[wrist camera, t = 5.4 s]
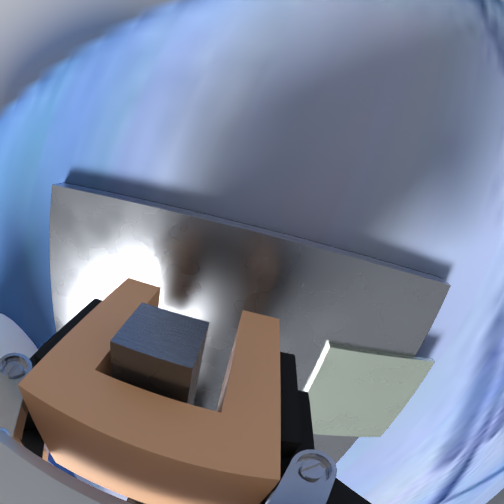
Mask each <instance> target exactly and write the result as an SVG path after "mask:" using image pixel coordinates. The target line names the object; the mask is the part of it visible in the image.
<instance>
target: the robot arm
mask: <svg viewBox="0 0 504 504" xmlns="http://www.w3.org/2000/svg"><path fill="white" fill-rule="evenodd" d="M101 301H103V300H100V299H97V298H95V299H93V300H92V301H91V302H90V303H89V304H88V305H87V306H85V307H84V308H83V309H82V310H81V311H80V312H79V313H78V314H76V315H75V316H74V317H73V318H72V319H71V320H70V321H69V322H68V323H67V324H65V325H64V326H63V327H62V328H61V329H60V330H59V331H58V332H57V333H56V334H55V335H53V336H52V337H51V338H50V339H49V340H48V341H47V342H46V343H45V344H44V345H43V346H42V347H41V348H40V349H39V350H38V351H37V352H36V353H35V354H34V355H33V356H32V357H31V358H30V359H29V358H28V357H27V356H25V355H23V354H21V353H9V354H7V355H4V356H3V357H2V358H0V504H132V503H130V502H127V501H124V500H122V499H119V498H117V497H115V496H112V495H110V494H108V493H105V492H103V491H101V490H99V489H96V488H94V487H92V486H90V485H88V484H86V483H84V482H82V481H80V480H78V479H76V478H74V477H73V476H71V475H69V474H67V473H65V472H63V471H62V470H60V469H58V468H57V467H55V466H53V465H51V464H50V463H48V462H47V461H48V452H49V450H48V448H47V446H46V444H45V443H44V441H43V439H42V437H41V435H40V433H39V431H38V429H37V427H36V425H35V423H34V421H33V419H32V417H31V415H30V413H29V411H28V408H27V406H26V404H25V401H24V399H23V397H22V394H21V392H20V389H19V387H18V384H19V383H20V381H21V380H22V379H23V378H24V377H25V376H26V375H27V374H28V373H29V372H30V371H31V370H32V369H33V368H34V367H35V366H36V365H37V364H38V362H39V361H40V360H41V359H42V358H43V357H44V356H45V355H46V354H47V353H48V352H49V351H50V350H51V349H52V348H53V347H54V346H55V345H56V344H57V343H58V342H59V341H60V340H61V339H62V338H63V337H64V336H65V335H66V334H68V333H69V332H70V331H71V330H72V329H73V328H74V327H75V326H76V325H77V324H78V323H79V322H80V321H81V320H82V319H83V318H84V317H85V316H86V315H87V314H89V313H90V312H91V311H92V310H93V309H94V308H95V307H96V306H97V305H98V304H99V303H100V302H101ZM280 381H281V463H280V481H279V482H278V483H277V484H276V486H275V487H274V488H273V489H272V490H271V491H270V493H269V494H268V495H267V496H266V497H265V498H264V499H263V500H262V502H261V503H260V504H371V503H370V502H368V501H367V500H365V499H364V498H363V497H361V496H360V495H358V494H357V493H356V492H354V491H353V490H351V489H350V488H349V487H347V486H346V485H345V484H343V483H342V482H341V481H339V480H338V479H337V478H336V474H337V468H336V464H335V462H334V461H333V459H332V458H331V457H330V456H328V455H327V454H325V453H323V452H322V451H318V450H315V448H314V438H313V428H312V418H311V409H310V400H309V394H308V392H306V391H300V390H298V384H297V371H296V359H295V355H294V354H289V353H284V352H280Z"/></svg>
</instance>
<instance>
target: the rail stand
mask: <svg viewBox="0 0 504 504" xmlns="http://www.w3.org/2000/svg"><path fill="white" fill-rule="evenodd" d="M50 275H51V290H52V301H53V311H54V319H55V326H56V333H57V332H58V331H59V330H60V329H61V328H62V327H63V326H64V325H65V324H67V323H68V322H69V321H70V320H71V319H72V318H73V317H74V316H75V315H76V314H78V313H79V312H80V311H81V310H82V309H83V308H84V307H85V306H87V305H88V304H89V303H90V302H91V301H92V300H93V299H95V298H97V299H100V300H104V299H105V298H106V297H107V296H108V295H109V294H110V293H111V292H113V291H114V290H115V289H116V288H117V287H118V286H119V285H120V284H122V283H123V282H124V281H125V280H126V279H127V278H131V279H135V280H138V281H141V282H144V283H147V284H151V285H154V286H157V287H161V288H160V297H159V306H158V307H155V306H152V305H149V304H146V303H141V304H140V305H139V306H138V308H137V309H136V310H135V311H134V312H133V314H132V315H131V316H130V317H129V318H128V320H127V321H126V322H125V323H124V324H123V326H122V327H121V328H120V329H119V331H118V332H117V333H116V334H115V336H114V337H113V338H112V339H111V340H110V352H111V368H112V378H115V379H117V380H120V381H122V382H125V383H128V384H130V385H133V386H135V387H138V388H141V389H144V390H146V391H149V392H152V393H155V394H158V395H161V396H164V397H167V398H170V399H174V400H177V401H180V402H184V403H187V404H191V405H194V406H198V407H201V408H205V409H209V410H213V411H217V407H218V402H219V398H220V393H221V389H222V385H223V381H224V377H225V374H226V370H227V366H228V362H229V359H230V355H231V351H232V348H233V344H234V340H235V337H236V333H237V329H238V325H239V322H240V318H241V314H242V311H243V310H245V311H249V312H253V313H257V314H261V315H265V316H269V317H274V318H278V319H279V324H280V352H284V353H289V354H294V355H295V359H296V371H297V384H298V390H300V391H306V392H308V394H309V400H310V409H311V418H312V428H313V438H314V448H315V450H318V451H322V452H323V453H325V454H327V455H328V456H330V457H331V458H332V459H333V461H334V462H335V464H336V463H337V462H338V461H339V459H340V458H341V457H342V456H343V455H344V454H345V453H346V452H347V450H348V449H349V448H350V447H351V446H352V445H353V443H354V442H355V441H356V440H357V439H358V437H381V435H382V434H383V433H384V432H385V431H386V429H387V428H388V427H389V426H390V425H391V423H392V422H393V421H394V420H395V418H396V417H397V416H398V414H399V413H400V412H401V411H402V409H403V408H404V407H405V405H406V404H407V403H408V401H409V400H410V398H411V397H412V396H413V394H414V393H415V391H416V390H417V388H418V387H419V386H420V384H421V383H422V381H423V380H424V378H425V377H426V375H427V373H428V372H429V370H430V369H431V367H432V366H433V364H434V362H435V361H434V359H432V358H422V357H415V355H416V354H417V352H418V350H419V348H420V347H421V345H422V343H423V341H424V339H425V337H426V336H427V334H428V332H429V330H430V328H431V326H432V324H433V322H434V320H435V318H436V316H437V314H438V312H439V310H440V308H441V306H442V304H443V301H444V299H445V297H446V295H447V293H448V290H449V288H450V286H451V285H450V284H448V283H447V282H446V281H445V280H443V279H442V278H440V277H437V276H433V275H430V274H427V273H423V272H420V271H416V270H413V269H410V268H406V267H403V266H399V265H396V264H393V263H389V262H386V261H382V260H379V259H375V258H372V257H368V256H364V255H361V254H357V253H354V252H350V251H347V250H343V249H339V248H336V247H332V246H328V245H325V244H321V243H317V242H313V241H310V240H306V239H302V238H298V237H295V236H291V235H287V234H283V233H279V232H275V231H272V230H268V229H264V228H260V227H256V226H252V225H248V224H244V223H240V222H236V221H232V220H228V219H224V218H220V217H216V216H211V215H207V214H203V213H199V212H195V211H191V210H186V209H182V208H178V207H174V206H169V205H165V204H161V203H156V202H152V201H147V200H143V199H138V198H134V197H129V196H125V195H120V194H116V193H111V192H107V191H102V190H97V189H92V188H88V187H83V186H78V185H73V184H68V183H59V184H53V185H52V193H51V208H50ZM127 502H130V503H132V504H145V503H143V502H140V501H137V500H134V499H131V498H129V497H128V499H127Z"/></svg>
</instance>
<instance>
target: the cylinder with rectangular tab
mask: <svg viewBox="0 0 504 504" xmlns="http://www.w3.org/2000/svg"><path fill="white" fill-rule="evenodd" d="M37 351H38V349H37V347H36V346H35V345H34V343H33V342H32V340H31V339H30V338H29V337H28V336H27V335H26V333H25V332H24V331H23V330H22V329H21V328H20V327H19V326H18V325H17V324H16V323H15V322H14V321H13V320H11V319H10V318H8V317H7V316H5V315H4V314H1V313H0V358H2V357H3V356H4V355H7V354H9V353H21V354H23V355H25V356H27V357H28V358H29V359H30V358H31V357H32V356H33V355H34V354H35V353H36V352H37Z"/></svg>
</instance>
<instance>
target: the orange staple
mask: <svg viewBox="0 0 504 504" xmlns="http://www.w3.org/2000/svg"><path fill="white" fill-rule="evenodd" d="M160 288H161V287H157V286H154V285H151V284H147V283H144V282H141V281H138V280H135V279H131V278H127V279H126V280H125V281H124V282H123V283H122V284H120V285H119V286H118V287H117V288H116V289H115V290H114V291H113V292H111V293H110V294H109V295H108V296H107V297H106V298H105V299H104V300H103V301H101V302H100V303H99V304H98V305H97V306H96V307H95V308H94V309H93V310H92V311H91V312H90V313H89V314H87V315H86V316H85V317H84V318H83V319H82V320H81V321H80V322H79V323H78V324H77V325H76V326H75V327H74V328H73V329H72V330H71V331H70V332H69V333H68V334H66V335H65V336H64V337H63V338H62V339H61V340H60V341H59V342H58V343H57V344H56V345H55V346H54V347H53V348H52V349H51V350H50V351H49V352H48V353H47V354H46V355H45V356H44V357H43V358H42V359H41V360H40V361H39V362H38V364H37V365H36V366H35V367H34V368H33V369H32V370H31V371H30V372H29V373H28V374H27V375H26V376H25V377H24V378H23V379H22V380H21V381H20V383H19V384H18V387H19V389H20V392H21V394H22V397H23V399H24V401H25V404H26V406H27V408H28V411H29V413H30V415H31V417H32V419H33V421H34V423H35V425H36V427H37V429H38V431H39V433H40V435H41V437H42V439H43V441H44V443H45V444H46V446H47V448H48V450H49V452H50V453H51V455H52V457H53V458H54V460H55V462H56V463H58V464H60V465H61V466H63V467H65V468H67V469H68V470H70V471H72V472H74V473H76V474H78V475H80V476H82V477H84V478H86V479H88V480H90V481H92V482H94V483H96V484H98V485H100V486H102V487H105V488H107V489H109V490H112V491H114V492H116V493H119V494H121V495H124V496H126V497H129V498H131V499H134V500H137V501H140V502H143V503H145V504H260V503H261V502H262V500H263V499H264V498H265V497H266V496H267V495H268V494H269V493H270V491H271V490H272V489H273V488H274V487H275V486H276V484H277V483H278V482H279V481H280V463H281V381H280V324H279V319H278V318H274V317H269V316H265V315H261V314H257V313H253V312H249V311H245V310H243V311H242V314H241V318H240V322H239V325H238V329H237V333H236V337H235V340H234V344H233V348H232V351H231V355H230V359H229V362H228V366H227V370H226V374H225V377H224V381H223V385H222V389H221V393H220V398H219V402H218V407H217V411H213V410H209V409H205V408H201V407H198V406H194V405H191V404H187V403H184V402H180V401H177V400H174V399H170V398H167V397H164V396H161V395H158V394H155V393H152V392H149V391H146V390H144V389H141V388H138V387H135V386H133V385H130V384H128V383H125V382H122V381H120V380H117V379H115V378H112V368H111V352H110V340H111V339H112V338H113V337H114V336H115V334H116V333H117V332H118V331H119V329H120V328H121V327H122V326H123V324H124V323H125V322H126V321H127V320H128V318H129V317H130V316H131V315H132V314H133V312H134V311H135V310H136V309H137V308H138V306H139V305H140V304H141V303H146V304H149V305H152V306H155V307H158V306H159V297H160Z"/></svg>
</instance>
